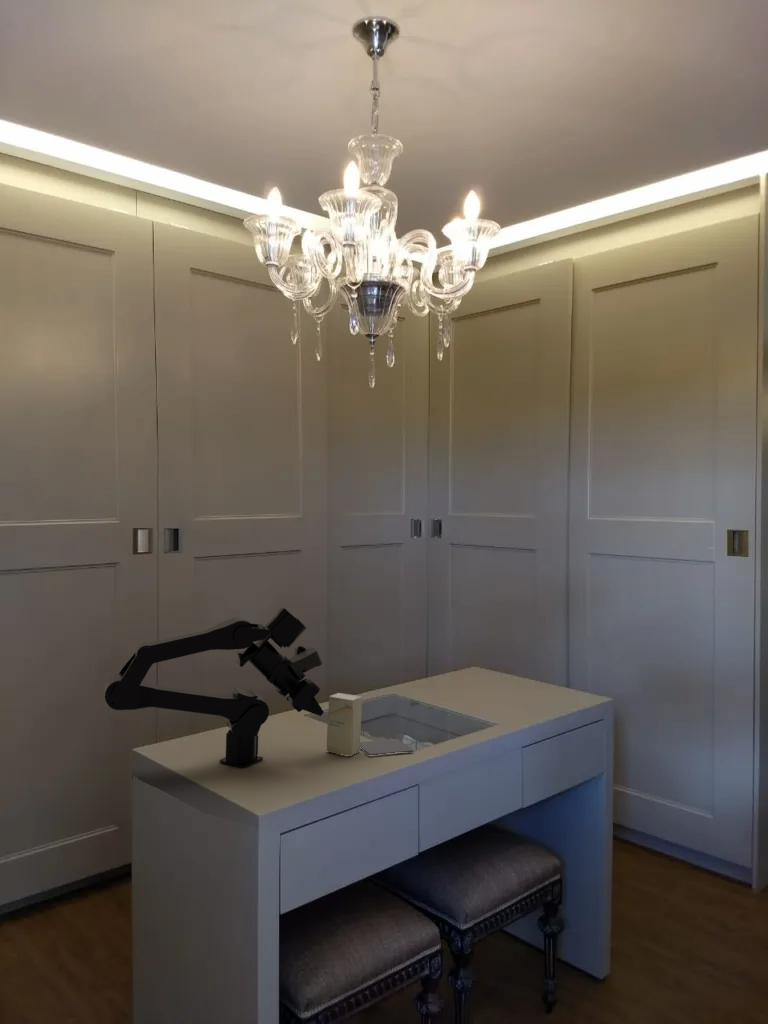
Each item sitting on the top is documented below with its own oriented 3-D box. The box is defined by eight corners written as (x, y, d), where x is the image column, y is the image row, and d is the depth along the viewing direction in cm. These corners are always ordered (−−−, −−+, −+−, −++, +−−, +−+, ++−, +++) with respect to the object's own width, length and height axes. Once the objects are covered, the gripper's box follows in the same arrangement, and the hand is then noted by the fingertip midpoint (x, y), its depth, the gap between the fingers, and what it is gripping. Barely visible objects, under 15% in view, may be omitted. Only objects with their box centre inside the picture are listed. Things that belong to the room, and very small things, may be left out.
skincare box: (325, 752, 165) (327, 696, 165) (336, 747, 169) (337, 692, 169) (351, 757, 162) (352, 699, 162) (361, 752, 166) (362, 695, 166)
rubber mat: (369, 757, 163) (369, 754, 163) (355, 744, 171) (355, 742, 171) (412, 753, 167) (413, 750, 167) (397, 741, 175) (397, 738, 175)
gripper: (310, 643, 153) (362, 695, 157) (288, 629, 171) (335, 676, 175) (270, 685, 151) (324, 737, 154) (252, 667, 168) (300, 714, 172)
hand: (321, 713), depth 164 cm, fingers closed
